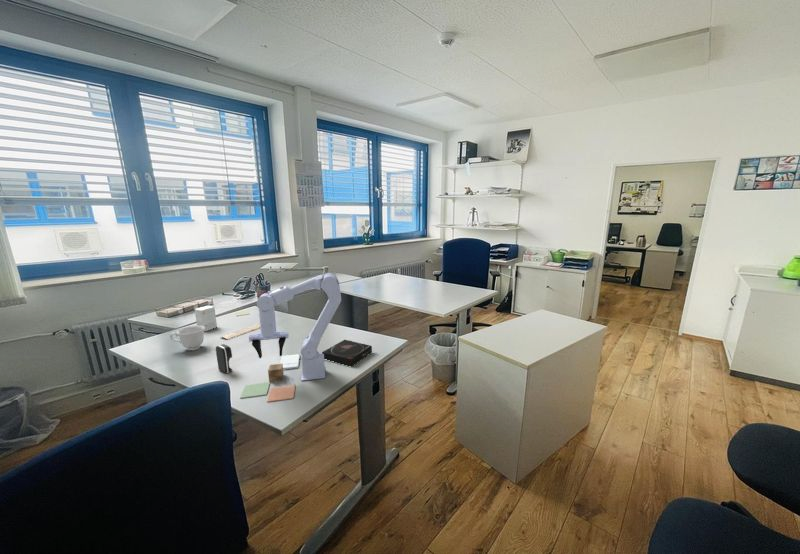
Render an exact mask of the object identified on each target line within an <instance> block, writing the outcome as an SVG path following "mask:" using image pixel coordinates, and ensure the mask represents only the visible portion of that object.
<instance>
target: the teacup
mask: <svg viewBox="0 0 800 554" xmlns="http://www.w3.org/2000/svg"><path fill="white" fill-rule="evenodd" d="M204 329H205V327H204V326H199V325H198V326H197V325H190V326H186V327H183V328H180V329H178V330H177V331H176V332H175V331H173V332H171V333H170V334H169V338H170V340H171V341H173V342H178V343H180V344H181V345H182V347H184V348H186V350H187V351H189V350H192V351H196V350H199V349H200V348H201V345H202V344H203V343H204V337H205V336H204V333H205V332H204ZM173 335H175V336H176V337H179V339H176V338H174V337H173Z"/></svg>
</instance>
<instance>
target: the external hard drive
mask: <svg viewBox="0 0 800 554" xmlns="http://www.w3.org/2000/svg"><path fill="white" fill-rule="evenodd" d="M299 359H300V360H301V353H299V354H298V353H296V354H287V355H282V356H281V358H280V361H279V362H280V363H279V364H283V369H287V370H293V369H292V368H296V369H299V367H298V366H300V365H299V364H300V360H299Z"/></svg>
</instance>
